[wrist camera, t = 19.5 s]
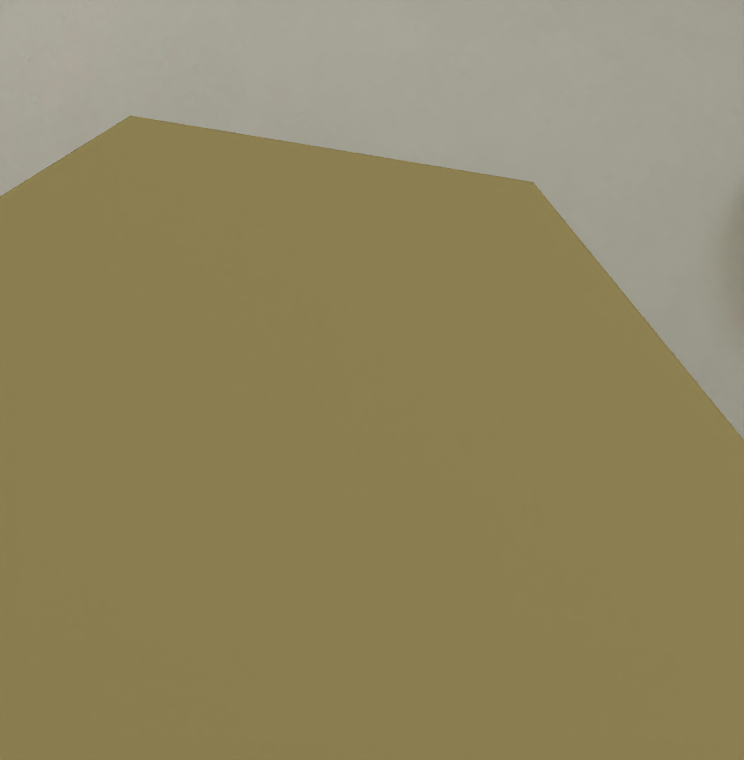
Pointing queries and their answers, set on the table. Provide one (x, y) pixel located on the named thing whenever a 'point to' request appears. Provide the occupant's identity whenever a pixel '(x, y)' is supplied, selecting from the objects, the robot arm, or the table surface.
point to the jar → (346, 471)
